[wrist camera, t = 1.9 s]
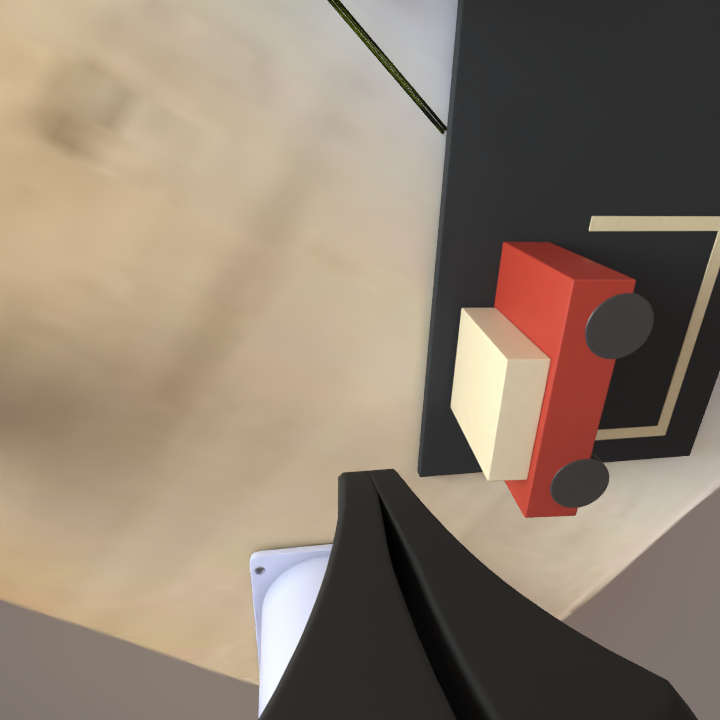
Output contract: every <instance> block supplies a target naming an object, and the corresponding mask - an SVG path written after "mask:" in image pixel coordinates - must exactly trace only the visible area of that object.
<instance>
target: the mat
mask: <svg viewBox="0 0 720 720" xmlns="http://www.w3.org/2000/svg"><path fill="white" fill-rule="evenodd" d="M448 131H449V132H448ZM453 137H454V138H453ZM447 138H448V139H449V140H448V139H447ZM447 138H446V149H445V161H444V172H443V184H442V195H441V207H440V218H439V230H438V241H437V253H436V264H435V276H434V288H433V299H432V311H431V322H430V334H429V345H428V357H427V368H426V380H425V391H424V403H423V414H422V426H421V437H420V449H419V461H418V473H419V476H420V477H426V476H438V475H451V474H464V473H476V472H483V470H482V468H481V467H480V465H479V463H478V461H477V459H476V457H475V455H474V453H473V451H472V449H471V447H470V445H469V443H468V441H467V439H466V437H465V435H464V433H463V431H462V429H461V427H460V425H459V423H458V421H457V419H456V417H455V415H454V413H453V411H452V409H451V398H452V389H453V380H454V371H455V362H456V353H457V345H458V336H459V327H460V318H461V309H462V308H494V304H495V297H496V290H497V283H498V276H499V268H500V261H501V254H502V247H503V242H550V243H553V244H555V245H557V246H560V247H562V248H564V249H566V250H569V251H571V252H573V253H576V254H578V255H580V256H582V257H585V258H587V259H589V260H592V261H594V262H596V263H598V264H601V265H603V266H605V267H608V268H610V269H612V270H614V271H617V272H619V273H621V274H624V275H626V276H628V277H630V278H633V279H635V280H636V284H635V288H634V291H633V292H635V293H637V294H639V295H641V296H642V297H644V298H645V299H646V300H647V301H648V302H649V303H650V305H651V307H652V310H653V313H654V323H653V328H652V331H651V333H650V335H649V337H648V338H647V340H646V341H645V342H644V344H643V345H642V346H641V347H640V348H638V349H637V350H636V351H634V352H633V353H631V354H629V355H627V356H625V357H622V358H618V359H616V361H615V365H614V369H613V373H612V377H611V381H610V384H609V388H608V392H607V396H606V400H605V404H604V408H603V412H602V415H601V419H600V423H599V427H598V431H597V435H596V439H595V443H594V446H593V450H592V452H593V453H594V454H595V455H596V456H597V457H598V458H599V459H600V460H601V461H602V462H615V461H628V460H640V459H653V458H665V457H678V456H689V455H690V453H691V450H692V447H693V444H694V441H695V439H696V436H697V433H698V430H699V427H700V424H701V422H702V419H703V416H704V413H705V410H706V408H707V405H708V402H709V399H710V396H711V394H712V391H713V388H714V385H715V382H716V379H717V377H718V374H719V371H720V0H458V11H457V22H456V34H455V45H454V57H453V68H452V80H451V91H450V103H449V115H448V126H447Z"/></svg>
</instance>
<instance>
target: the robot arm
mask: <svg viewBox="0 0 720 720" xmlns="http://www.w3.org/2000/svg"><path fill="white" fill-rule="evenodd" d="M259 567H263V568H262V569H258V568H259ZM250 571H251V582H252V593H253V604H254V615H255V626H256V637H257V648H258V659H259V670H260V689H259V719H258V720H698V719H697V718H696V716H695V715H694V713H693V712H692V711H691V709H690V708H689V706H688V705H687V704H686V703H685V701H684V700H683V699H682V698H681V696H680V695H679V694H678V693H677V691H676V690H675V689H674V688H673V686H672V685H671V684H670V683H669V682H668V681H667V680H666V679H664V678H662V677H660V676H658V675H656V674H654V673H652V672H650V671H648V670H646V669H644V668H643V667H641V666H639V665H637V664H635V663H633V662H631V661H629V660H627V659H625V658H623V657H621V656H619V655H617V654H615V653H613V652H612V651H609V650H608V649H606V648H604V647H603V646H601V645H599V644H598V643H596V642H594V641H592V640H591V639H589V638H587V637H586V636H584V635H582V634H581V633H579V632H577V631H575V630H574V629H572V628H570V627H569V626H567V625H566V624H564V623H563V622H561V621H560V620H558V619H556V618H555V617H553V616H552V615H550V614H549V613H548V612H546V611H545V610H543V609H542V608H540V607H539V606H537V605H536V604H534V603H533V602H532V601H530V600H529V599H527V598H526V597H524V596H523V595H522V594H520V593H519V592H517V591H516V590H515V589H513V588H512V587H511V586H509V585H508V584H507V583H506V582H504V581H503V580H502V579H501V578H499V577H498V576H497V575H496V574H495V573H493V572H492V571H491V570H490V569H488V568H487V567H486V566H485V565H484V564H483V563H482V562H480V561H479V560H478V559H477V558H476V557H475V556H474V555H473V554H472V553H471V552H469V551H468V550H467V549H466V548H465V547H464V546H463V545H462V544H461V543H460V542H459V541H458V540H457V539H456V538H455V537H454V536H453V535H452V534H451V533H450V532H449V531H448V530H447V529H446V528H445V527H444V526H443V525H442V524H441V523H440V522H439V521H438V519H437V518H436V517H435V516H434V515H433V514H432V513H431V512H430V511H429V510H428V509H427V508H426V506H425V505H424V504H423V503H422V502H421V501H420V499H419V498H418V497H417V496H416V495H415V494H414V492H413V491H412V490H411V489H410V488H409V486H408V485H407V484H406V483H405V481H404V480H403V479H402V478H401V477H400V475H399V474H398V473H397V472H396V471H395V470H394V469H385V470H372V471H359V472H346V473H342V474H341V475H340V476H339V477H338V521H337V527H336V532H335V537H334V542H333V544H326V545H316V546H306V547H296V548H285V549H275V550H265V551H258V552H255V553H253V554H252V555H251V557H250Z"/></svg>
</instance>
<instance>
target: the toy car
mask: <svg viewBox="0 0 720 720" xmlns="http://www.w3.org/2000/svg"><path fill="white" fill-rule="evenodd" d="M635 284H636V280H635V279H633V278H630V277H628V276H626V275H624V274H621V273H619V272H617V271H614V270H612V269H610V268H608V267H605V266H603V265H601V264H598V263H596V262H594V261H592V260H589V259H587V258H585V257H582V256H580V255H578V254H576V253H573V252H571V251H569V250H566V249H564V248H562V247H560V246H557V245H555V244H553V243H550V242H503V247H502V254H501V261H500V268H499V276H498V283H497V290H496V297H495V304H494V308H462V309H461V318H460V327H459V336H458V345H457V353H456V362H455V371H454V380H453V389H452V398H451V409H452V411H453V413H454V415H455V417H456V419H457V421H458V423H459V425H460V427H461V429H462V431H463V433H464V435H465V437H466V439H467V441H468V443H469V445H470V447H471V449H472V451H473V453H474V455H475V457H476V459H477V461H478V463H479V465H480V467H481V468H482V470H483V472H484V474H485V476H486V478H487V480H488V481H503V480H504V481H505V483H506V484H507V486H508V488H509V490H510V492H511V494H512V495H513V497H514V499H515V501H516V503H517V504H518V506H519V508H520V510H521V512H522V513H523V515H524V517H526V518H528V517H552V516H575V515H576V512H577V508H578V507H582V506H586V505H588V504H590V503H592V502H594V501H595V500H597V499H598V498H599V497H600V496H601V495H602V494H603V493H604V491H605V490H606V488H607V486H608V482H609V473H608V470H607V468H606V466H605V465H604V464H603V463H602V461H601V460H600V459H599V458H598V457H597V456H596V455H595V454H594V453H593V452H592V450H593V446H594V443H595V439H596V435H597V431H598V427H599V423H600V419H601V415H602V412H603V408H604V404H605V400H606V396H607V392H608V388H609V384H610V381H611V377H612V373H613V369H614V365H615V361H616V359H618V358H622V357H625V356H627V355H629V354H631V353H633V352H634V351H636V350H637V349H638V348H640V347H641V346H642V345H643V344H644V342H645V341H646V340H647V338H648V337H649V335H650V333H651V331H652V328H653V323H654V313H653V310H652V307H651V305H650V303H649V302H648V301H647V300H646V299H645V298H644V297H642V296H641V295H639V294H637V293H635V292H633V291H634V288H635Z"/></svg>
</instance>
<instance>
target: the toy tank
mask: <svg viewBox="0 0 720 720" xmlns="http://www.w3.org/2000/svg"><path fill="white" fill-rule="evenodd" d="M333 1H334V2H335V3H336V4H335V3H334V2H333ZM333 1H332V0H328V2H329V3H330V4H331V5H332V6H333V7H334V8H335V10H336V11H337V12H338V13H339V14H340V15H341V17H342V18H343V19H344V20H345V21H346V22H347V24H348V25H349V26H350V27H351V28H352V29H353V31H354V32H355V33H356V34H357V35H358V36H359V38H360V39H361V40H362V41H363V42H364V44H365V45H366V46H367V47H368V48H369V49H370V51H371V52H372V53H373V54H374V55H375V56H376V58H377V59H378V60H379V61H380V62H381V63H382V65H383V66H384V67H385V68H386V69H387V70H388V72H389V73H390V74H391V75H392V76H393V77H394V79H395V80H396V81H397V82H398V83H399V84H400V86H401V87H402V88H403V89H404V90H405V91H406V93H407V94H408V95H409V96H410V97H411V98H412V100H413V101H414V102H415V103H416V104H417V105H418V107H419V108H420V109H421V110H422V111H423V112H424V114H425V115H426V116H427V117H428V118H429V119H430V121H431V122H432V123H433V124H434V125H435V126H436V128H437V129H438V130H439V131H440V132H441V133H442V134H443V133H444V130H445V131H446V130H447V127H446V126H445V125H444V124H443V123H442V121H441V120H440V119H439V118H438V117H437V116H436V114H435V113H434V112H433V111H432V110H431V108H430V107H429V106H428V105H427V104H426V102H425V101H424V100H423V99H422V98H421V97H420V95H419V94H418V93H417V92H416V91H415V89H414V88H413V87H412V86H411V85H410V84H409V82H408V81H407V80H406V79H405V78H404V76H403V75H402V74H401V73H400V72H399V71H398V69H397V68H396V67H395V66H394V65H393V63H392V62H391V61H390V60H389V59H388V58H387V56H386V55H385V54H384V53H383V52H382V50H381V49H380V48H379V47H378V46H377V45H376V43H375V42H374V41H373V40H372V39H371V37H370V36H369V35H368V34H367V33H366V31H365V30H364V29H363V28H362V27H361V26H360V24H359V23H358V22H357V21H356V20H355V18H354V17H353V16H352V15H351V14H350V13H349V11H348V10H347V9H346V8H345V7H344V5H343V4H342V3H341V2H340V1H339V0H333ZM337 6H338V7H339V8H340V9H341V10H342V11H341V10H340V9H339V8H338V7H337ZM343 13H344V14H345V15H346V16H347V17H348V18H347V17H346V16H345V15H343ZM350 17H351V18H350ZM349 20H350V21H351V22H352V23H353V24H354V25H353V24H352V23H351V22H349ZM355 23H356V24H357V25H356V24H355ZM355 27H356V28H357V29H358V30H359V31H360V32H359V31H358V30H357V29H355ZM361 30H362V31H361ZM362 33H363V34H362ZM360 34H362V35H363V36H364V37H365V38H366V39H365V38H364V37H363V36H362V35H360ZM366 36H367V37H368V38H367V37H366ZM368 40H369V41H368ZM366 41H368V42H369V43H370V44H371V45H372V46H371V45H370V44H369V43H368V42H366ZM372 43H373V44H372ZM373 46H374V47H373ZM373 48H374V49H375V50H376V51H377V52H378V53H377V52H376V51H375V50H374V49H373ZM377 49H378V50H379V51H378V50H377ZM379 53H380V54H379ZM379 55H380V56H381V57H382V58H383V59H382V58H381V57H380V56H379ZM383 56H384V57H383ZM384 59H385V60H386V61H385V60H384ZM385 62H386V63H387V64H388V65H389V66H388V65H387V64H386V63H385ZM388 62H389V63H390V64H389V63H388ZM390 66H391V67H392V68H391V67H390ZM391 69H392V70H393V71H394V72H393V71H392V70H391ZM394 69H395V70H396V71H395V70H394ZM395 72H396V73H397V74H398V75H396V73H395ZM399 75H400V76H401V77H400V76H399ZM397 76H398V77H399V78H400V79H399V78H398V77H397ZM401 79H402V80H403V81H402V80H401ZM405 82H406V83H407V84H406V83H405ZM403 83H404V84H405V85H404V84H403ZM406 85H407V86H408V87H409V88H407V86H406ZM410 88H411V89H412V90H411V89H410ZM408 89H409V90H410V91H411V92H410V91H409V90H408ZM412 92H413V93H414V94H415V95H413V93H412ZM416 95H417V96H416ZM414 96H415V97H416V98H415V97H414ZM417 98H418V99H419V100H420V101H421V102H420V101H418V99H417ZM420 103H421V104H420ZM423 105H424V106H425V107H426V108H427V109H426V108H424V106H423ZM426 110H428V111H429V112H430V113H431V114H432V115H431V114H429V112H428V111H426ZM432 116H433V117H434V118H435V119H436V120H437V121H438V122H437V121H435V119H434V118H433V117H432ZM438 123H439V124H440V125H441V126H442V127H443V128H442V127H440V125H439V124H438ZM448 132H449V131H448ZM444 134H445V133H444ZM446 138H447V137H446ZM453 138H454V137H453ZM447 139H448V138H447ZM448 140H449V139H448Z"/></svg>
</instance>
